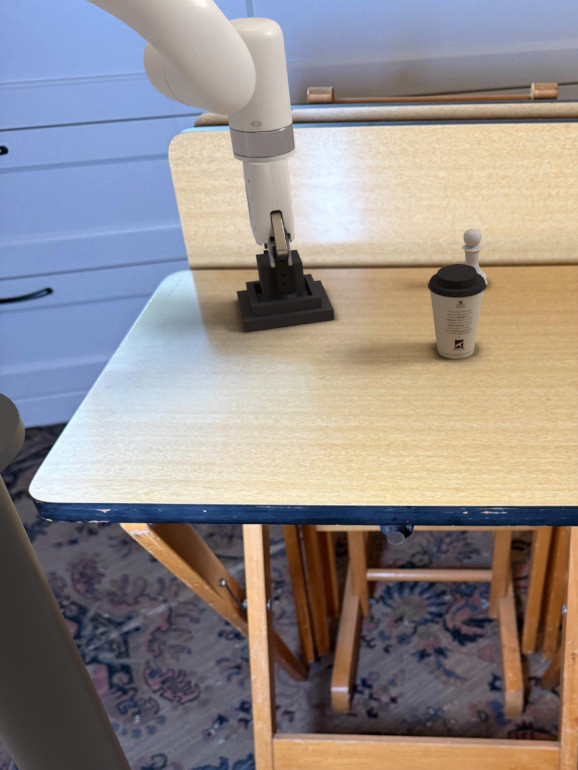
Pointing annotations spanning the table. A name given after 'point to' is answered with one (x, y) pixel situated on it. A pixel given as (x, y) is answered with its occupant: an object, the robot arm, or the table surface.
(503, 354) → the table surface
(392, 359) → the table surface
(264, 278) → the black block
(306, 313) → the base pad
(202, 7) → the robot arm
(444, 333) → the coffee cup
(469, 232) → the chess piece
